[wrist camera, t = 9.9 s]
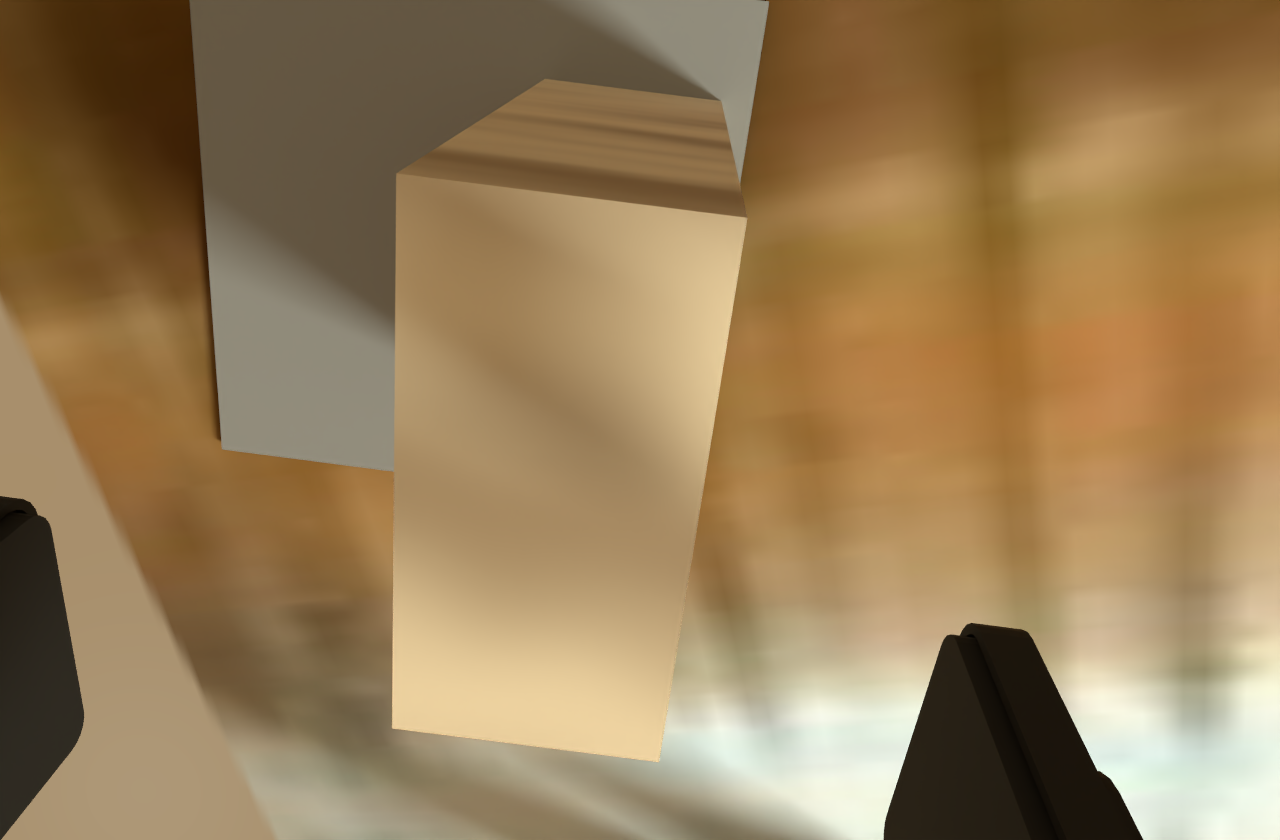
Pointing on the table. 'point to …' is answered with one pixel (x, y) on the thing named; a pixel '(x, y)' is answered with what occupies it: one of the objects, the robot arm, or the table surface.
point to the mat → (385, 171)
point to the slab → (557, 412)
